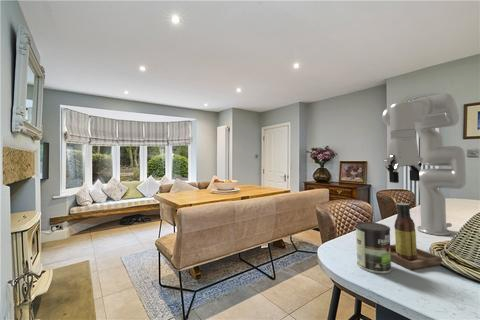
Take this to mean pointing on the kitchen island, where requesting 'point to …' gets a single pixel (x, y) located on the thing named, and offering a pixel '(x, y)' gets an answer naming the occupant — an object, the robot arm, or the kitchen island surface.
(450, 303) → the kitchen island surface
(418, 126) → the robot arm
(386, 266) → the coffee can
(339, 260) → the kitchen island surface
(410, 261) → the tray
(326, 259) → the kitchen island surface
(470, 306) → the kitchen island surface
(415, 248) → the sauce bottle
